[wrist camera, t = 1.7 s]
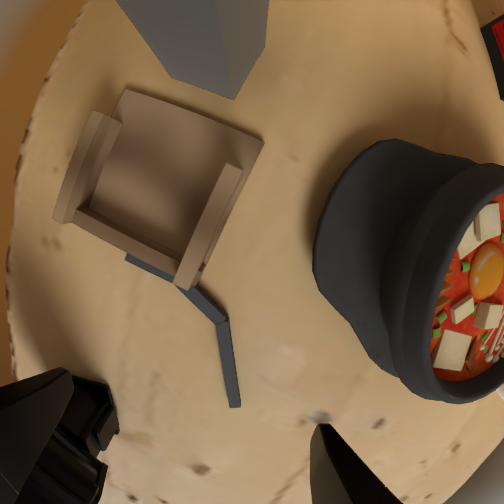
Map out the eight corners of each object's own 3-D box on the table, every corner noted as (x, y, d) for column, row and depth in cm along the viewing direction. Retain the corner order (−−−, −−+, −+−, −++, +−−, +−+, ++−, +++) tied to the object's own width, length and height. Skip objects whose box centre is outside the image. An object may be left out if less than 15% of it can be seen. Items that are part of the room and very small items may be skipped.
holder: (201, 276, 20) (191, 292, 17) (76, 213, 19) (49, 217, 16) (264, 144, 19) (267, 132, 15) (128, 91, 18) (107, 74, 14)
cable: (232, 404, 22) (232, 410, 22) (125, 251, 20) (120, 253, 19) (276, 386, 22) (277, 392, 21) (170, 221, 20) (167, 222, 19)
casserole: (535, 244, 20) (588, 259, 12) (459, 392, 23) (498, 435, 15) (373, 88, 18) (430, 42, 10) (259, 309, 21) (263, 375, 13)
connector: (233, 100, 18) (209, -25, 5) (171, 77, 18) (90, -32, 5) (264, 47, 17) (277, -87, 5) (204, 27, 17) (166, -97, 4)
